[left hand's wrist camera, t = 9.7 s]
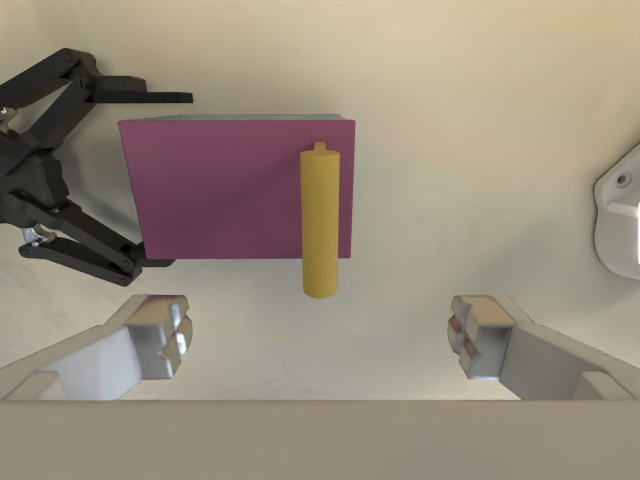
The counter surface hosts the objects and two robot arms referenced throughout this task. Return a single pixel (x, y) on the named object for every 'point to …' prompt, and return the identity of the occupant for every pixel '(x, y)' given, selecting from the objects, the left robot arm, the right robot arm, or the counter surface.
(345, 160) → the lid
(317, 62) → the counter surface
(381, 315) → the counter surface
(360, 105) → the counter surface
